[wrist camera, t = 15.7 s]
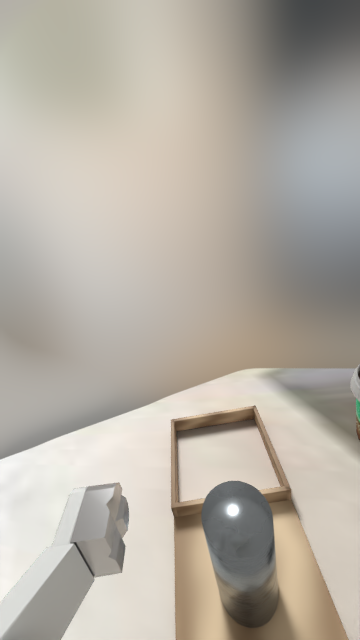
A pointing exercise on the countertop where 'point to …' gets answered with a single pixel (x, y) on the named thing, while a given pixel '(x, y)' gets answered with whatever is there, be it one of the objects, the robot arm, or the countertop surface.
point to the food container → (359, 390)
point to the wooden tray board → (291, 560)
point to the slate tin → (242, 551)
